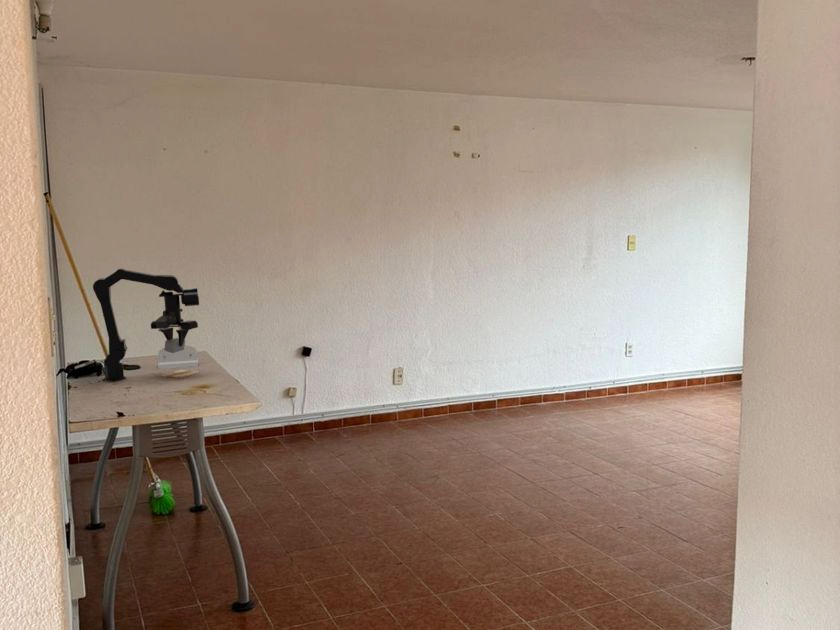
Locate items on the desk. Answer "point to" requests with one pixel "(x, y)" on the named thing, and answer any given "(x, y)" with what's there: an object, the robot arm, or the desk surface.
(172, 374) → the coaster
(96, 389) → the desk surface
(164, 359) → the hinge
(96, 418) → the desk surface
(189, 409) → the desk surface
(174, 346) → the plug
